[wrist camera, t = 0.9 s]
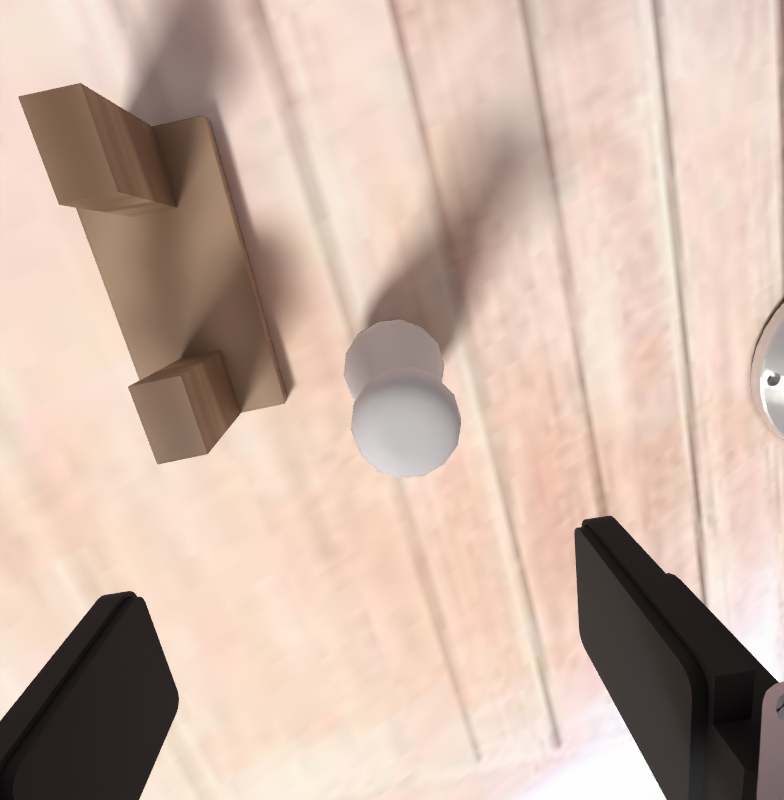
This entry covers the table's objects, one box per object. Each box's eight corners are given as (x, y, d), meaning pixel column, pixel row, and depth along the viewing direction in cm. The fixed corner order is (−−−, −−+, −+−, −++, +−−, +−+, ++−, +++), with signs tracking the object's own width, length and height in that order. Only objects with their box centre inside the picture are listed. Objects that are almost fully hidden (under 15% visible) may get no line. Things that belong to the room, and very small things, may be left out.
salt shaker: (434, 310, 29) (485, 349, 17) (441, 399, 31) (491, 495, 19) (339, 320, 29) (319, 366, 17) (351, 409, 31) (340, 511, 18)
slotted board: (209, 120, 26) (149, 68, 19) (287, 398, 30) (262, 442, 23) (65, 151, 26) (-50, 111, 19) (164, 424, 31) (102, 475, 23)
